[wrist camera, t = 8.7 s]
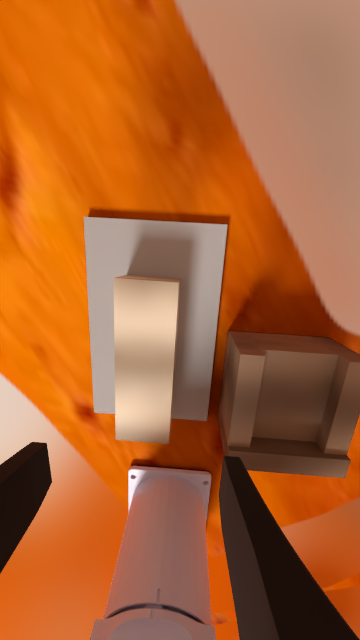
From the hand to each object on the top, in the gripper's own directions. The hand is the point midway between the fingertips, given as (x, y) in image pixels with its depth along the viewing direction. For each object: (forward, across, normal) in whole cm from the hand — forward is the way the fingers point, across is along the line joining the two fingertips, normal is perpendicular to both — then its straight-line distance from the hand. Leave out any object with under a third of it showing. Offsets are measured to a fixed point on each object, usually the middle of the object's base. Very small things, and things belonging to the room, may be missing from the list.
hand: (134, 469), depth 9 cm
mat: (+10, +1, -3) cm, 11 cm away
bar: (+10, +1, -1) cm, 10 cm away
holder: (+10, -9, +1) cm, 14 cm away
